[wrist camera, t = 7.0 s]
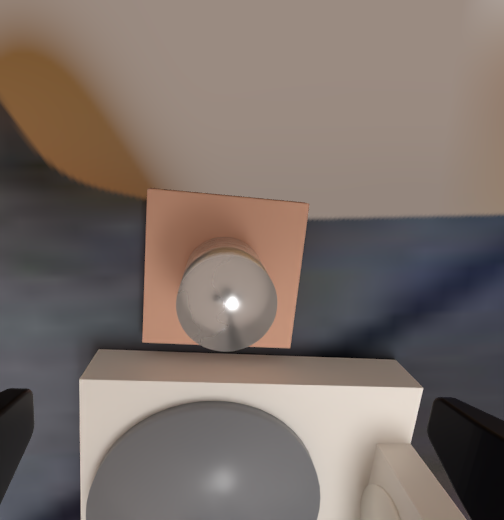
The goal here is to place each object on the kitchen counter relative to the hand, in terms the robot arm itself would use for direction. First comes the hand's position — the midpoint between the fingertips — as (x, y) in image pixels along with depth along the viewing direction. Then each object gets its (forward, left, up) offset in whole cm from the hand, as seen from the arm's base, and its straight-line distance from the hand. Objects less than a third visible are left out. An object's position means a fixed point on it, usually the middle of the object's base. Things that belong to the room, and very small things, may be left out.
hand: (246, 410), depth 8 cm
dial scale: (-12, -2, -12) cm, 17 cm away
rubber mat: (0, 0, -12) cm, 12 cm away
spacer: (0, 0, -11) cm, 11 cm away
